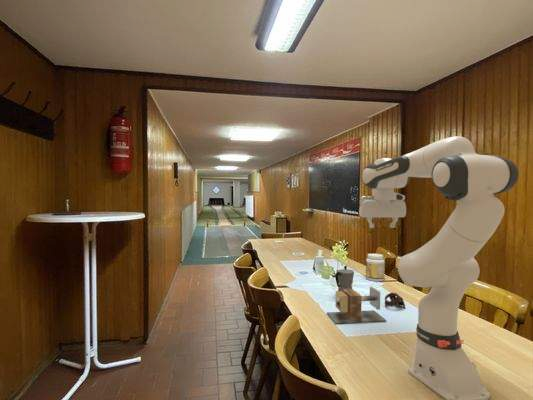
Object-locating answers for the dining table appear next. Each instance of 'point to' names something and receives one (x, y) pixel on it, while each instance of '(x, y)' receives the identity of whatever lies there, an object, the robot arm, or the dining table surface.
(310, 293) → the dining table surface
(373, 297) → the shaft
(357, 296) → the bearing block
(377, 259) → the supplement tub
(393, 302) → the dark openwork dome
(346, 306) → the tan flat block
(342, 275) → the coffeepot
